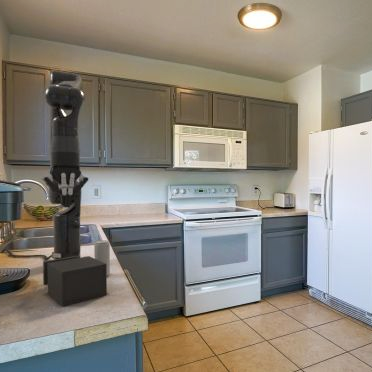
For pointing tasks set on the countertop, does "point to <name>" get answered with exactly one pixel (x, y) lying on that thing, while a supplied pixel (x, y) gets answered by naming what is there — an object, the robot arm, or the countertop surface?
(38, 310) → the countertop surface
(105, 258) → the beverage can
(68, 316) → the countertop surface
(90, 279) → the dark grey lidded box
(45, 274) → the handled box lid
